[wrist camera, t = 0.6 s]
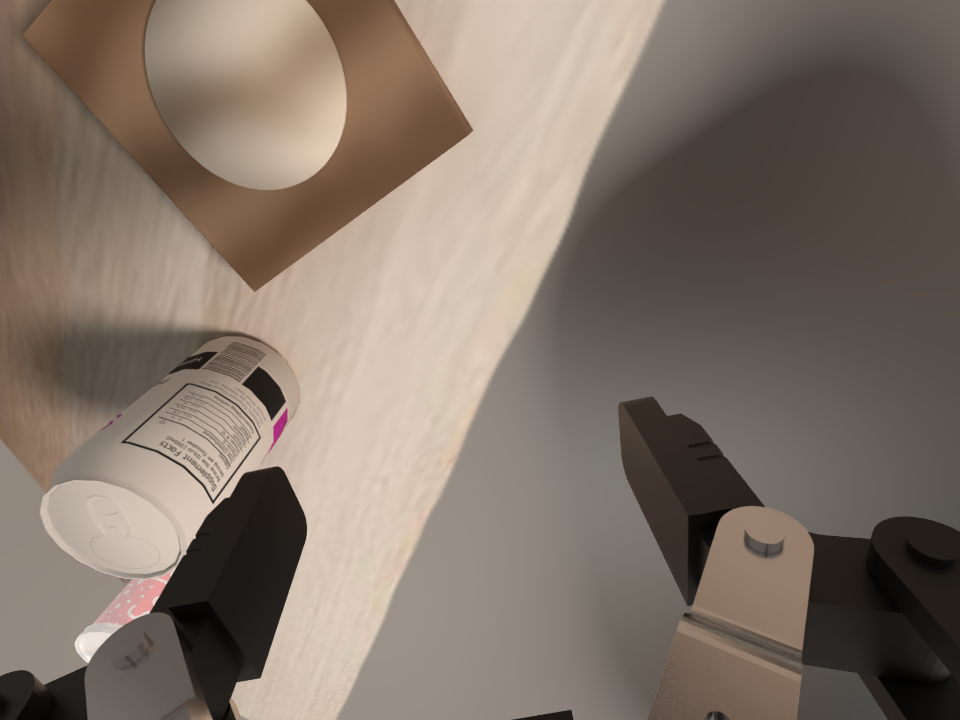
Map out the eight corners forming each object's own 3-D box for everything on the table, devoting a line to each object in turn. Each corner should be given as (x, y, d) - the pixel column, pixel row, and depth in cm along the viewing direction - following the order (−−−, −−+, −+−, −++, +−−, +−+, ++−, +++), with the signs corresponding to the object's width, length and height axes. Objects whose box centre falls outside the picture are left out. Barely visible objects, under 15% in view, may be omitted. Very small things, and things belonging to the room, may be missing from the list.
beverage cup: (220, 577, 49) (124, 738, 37) (171, 589, 51) (62, 748, 38) (183, 536, 47) (66, 694, 34) (132, 549, 48) (2, 706, 36)
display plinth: (77, 41, 28) (15, 34, 24) (279, -187, 23) (237, -238, 19) (278, 273, 34) (251, 294, 30) (473, 130, 29) (468, 135, 25)
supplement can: (312, 425, 40) (213, 590, 27) (211, 421, 40) (65, 582, 27) (294, 333, 36) (168, 473, 23) (183, 330, 36) (-4, 466, 23)
